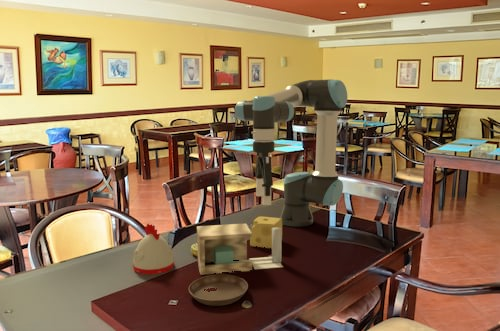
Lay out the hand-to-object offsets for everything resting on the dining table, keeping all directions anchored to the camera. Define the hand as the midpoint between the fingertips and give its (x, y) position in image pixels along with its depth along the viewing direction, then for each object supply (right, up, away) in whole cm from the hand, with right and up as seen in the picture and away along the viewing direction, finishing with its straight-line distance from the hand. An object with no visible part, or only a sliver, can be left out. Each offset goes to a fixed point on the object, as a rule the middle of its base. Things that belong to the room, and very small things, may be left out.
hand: (263, 200), depth 161 cm
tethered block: (-5, -22, -1) cm, 23 cm away
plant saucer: (-14, -27, -25) cm, 39 cm away
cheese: (+2, -19, +20) cm, 28 cm away
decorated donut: (-22, -21, +10) cm, 32 cm away
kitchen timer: (-38, -23, -3) cm, 45 cm away
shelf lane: (-14, -23, -3) cm, 27 cm away
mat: (+1, -22, 0) cm, 22 cm away
